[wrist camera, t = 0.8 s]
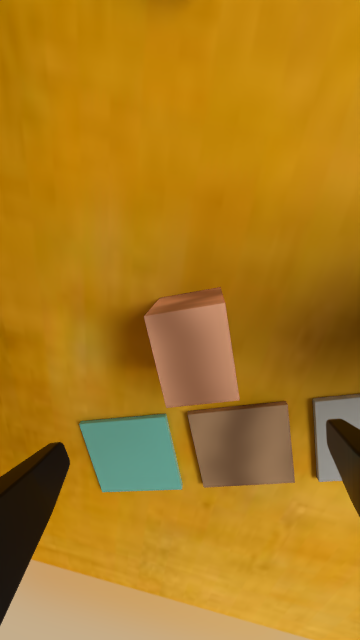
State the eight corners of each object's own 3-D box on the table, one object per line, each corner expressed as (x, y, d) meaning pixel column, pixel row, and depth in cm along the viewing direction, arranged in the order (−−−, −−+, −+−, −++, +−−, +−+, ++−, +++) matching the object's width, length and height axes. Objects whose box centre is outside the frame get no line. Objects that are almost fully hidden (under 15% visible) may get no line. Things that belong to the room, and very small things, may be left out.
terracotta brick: (220, 286, 18) (224, 302, 13) (231, 361, 19) (239, 400, 15) (160, 297, 19) (143, 316, 14) (176, 368, 20) (166, 407, 15)
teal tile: (167, 409, 22) (165, 416, 21) (183, 479, 24) (182, 489, 23) (84, 416, 23) (79, 424, 22) (106, 482, 25) (102, 492, 24)
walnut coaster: (283, 397, 20) (287, 404, 19) (291, 472, 23) (294, 482, 22) (188, 407, 22) (187, 414, 21) (203, 477, 24) (203, 487, 23)
